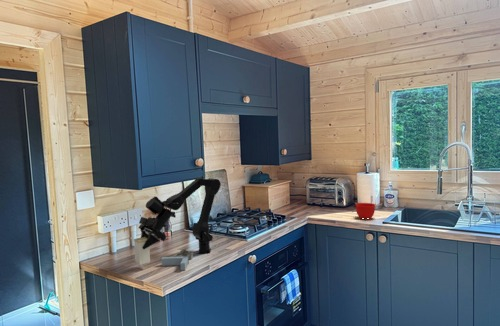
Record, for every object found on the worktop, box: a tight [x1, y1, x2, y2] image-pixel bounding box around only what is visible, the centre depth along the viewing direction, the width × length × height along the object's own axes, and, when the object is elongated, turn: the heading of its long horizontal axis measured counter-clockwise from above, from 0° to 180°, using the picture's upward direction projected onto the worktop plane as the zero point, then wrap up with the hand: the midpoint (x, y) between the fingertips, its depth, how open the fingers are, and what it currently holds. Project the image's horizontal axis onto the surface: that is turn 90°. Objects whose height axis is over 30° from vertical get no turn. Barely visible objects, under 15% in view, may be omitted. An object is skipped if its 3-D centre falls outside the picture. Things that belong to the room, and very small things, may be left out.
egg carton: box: [170, 248, 194, 261], centre depth 177 cm, size 11×8×4 cm
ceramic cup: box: [355, 202, 376, 220], centre depth 253 cm, size 13×17×10 cm
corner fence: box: [160, 256, 189, 272], centre depth 167 cm, size 10×12×4 cm
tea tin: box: [133, 237, 151, 266], centre depth 166 cm, size 5×5×11 cm
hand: (140, 247), depth 166 cm, fingers closed on tea tin, 5 cm apart
